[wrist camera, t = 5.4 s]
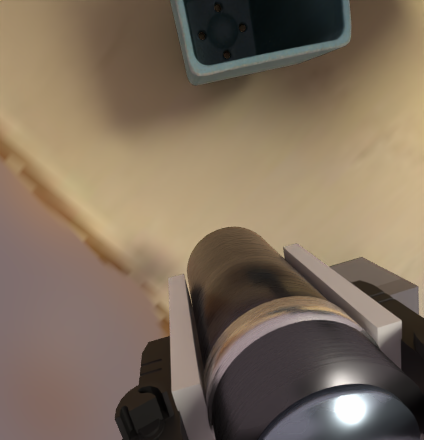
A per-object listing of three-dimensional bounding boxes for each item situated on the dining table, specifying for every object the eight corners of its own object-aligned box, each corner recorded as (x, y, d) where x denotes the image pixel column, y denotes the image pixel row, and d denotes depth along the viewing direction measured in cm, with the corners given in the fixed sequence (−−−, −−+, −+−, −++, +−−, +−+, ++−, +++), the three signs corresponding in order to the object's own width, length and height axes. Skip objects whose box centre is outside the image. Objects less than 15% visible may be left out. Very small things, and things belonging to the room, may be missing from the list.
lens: (175, 238, 15) (195, 419, 5) (267, 214, 15) (448, 337, 6) (196, 320, 16) (244, 581, 7) (280, 296, 17) (441, 505, 7)
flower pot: (179, 106, 22) (192, 78, 14) (148, -24, 20) (138, -158, 11) (282, 83, 23) (354, 43, 15) (264, -43, 21) (337, -180, 12)
